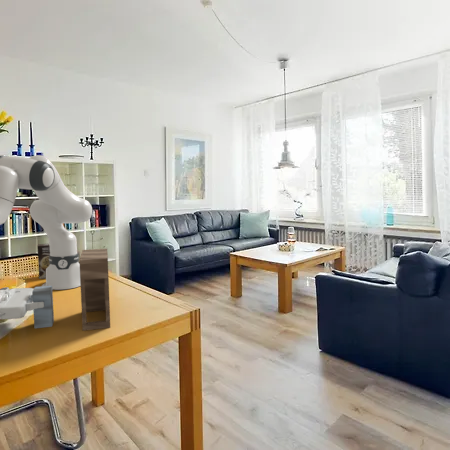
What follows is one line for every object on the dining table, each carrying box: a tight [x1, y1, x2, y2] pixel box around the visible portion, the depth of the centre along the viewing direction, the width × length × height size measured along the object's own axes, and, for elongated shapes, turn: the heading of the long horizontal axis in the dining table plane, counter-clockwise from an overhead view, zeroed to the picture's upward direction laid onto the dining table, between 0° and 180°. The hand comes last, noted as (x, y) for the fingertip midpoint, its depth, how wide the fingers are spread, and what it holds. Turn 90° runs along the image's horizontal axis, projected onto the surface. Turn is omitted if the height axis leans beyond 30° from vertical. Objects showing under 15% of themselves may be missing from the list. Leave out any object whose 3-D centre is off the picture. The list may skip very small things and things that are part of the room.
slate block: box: [32, 285, 55, 329], centre depth 117 cm, size 5×5×12 cm
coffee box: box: [37, 243, 50, 280], centre depth 177 cm, size 9×6×16 cm
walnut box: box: [78, 248, 111, 332], centre depth 121 cm, size 18×8×22 cm, turn 18°
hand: (46, 300), depth 117 cm, fingers open, 6 cm apart
